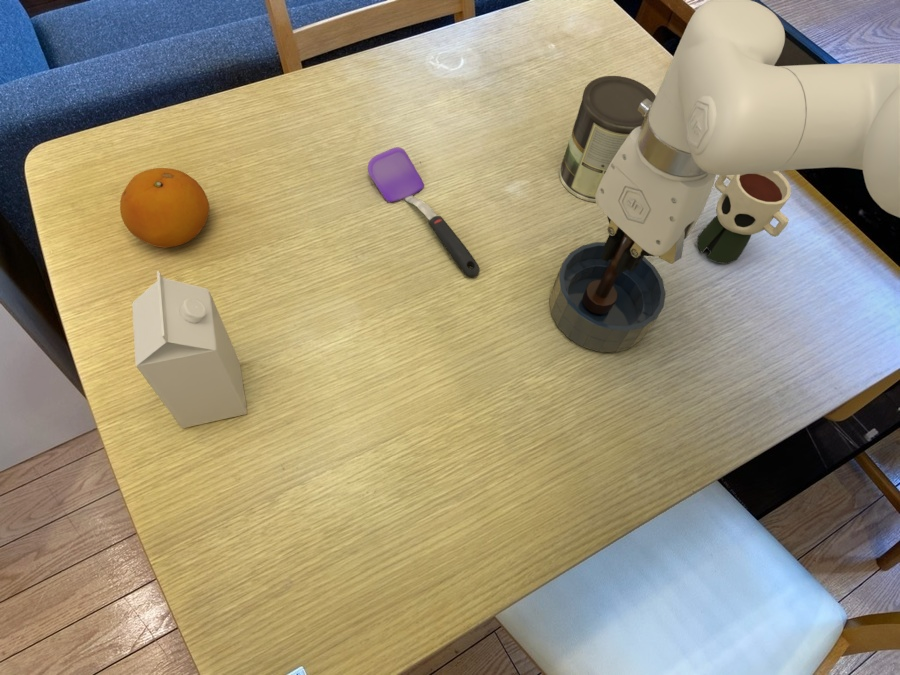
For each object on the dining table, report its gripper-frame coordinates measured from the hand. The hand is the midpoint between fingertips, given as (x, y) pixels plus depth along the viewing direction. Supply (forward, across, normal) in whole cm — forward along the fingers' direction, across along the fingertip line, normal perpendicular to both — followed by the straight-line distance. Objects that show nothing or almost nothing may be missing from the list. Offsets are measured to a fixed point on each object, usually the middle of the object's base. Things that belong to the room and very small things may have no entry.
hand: (618, 261), depth 74 cm
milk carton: (+10, -16, -46) cm, 50 cm away
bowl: (+10, +1, 0) cm, 10 cm away
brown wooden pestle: (+9, 0, 0) cm, 9 cm away
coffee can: (+10, -17, +16) cm, 26 cm away
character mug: (+10, +3, +22) cm, 24 cm away
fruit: (+10, -41, -39) cm, 58 cm away
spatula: (+10, -24, -10) cm, 28 cm away
